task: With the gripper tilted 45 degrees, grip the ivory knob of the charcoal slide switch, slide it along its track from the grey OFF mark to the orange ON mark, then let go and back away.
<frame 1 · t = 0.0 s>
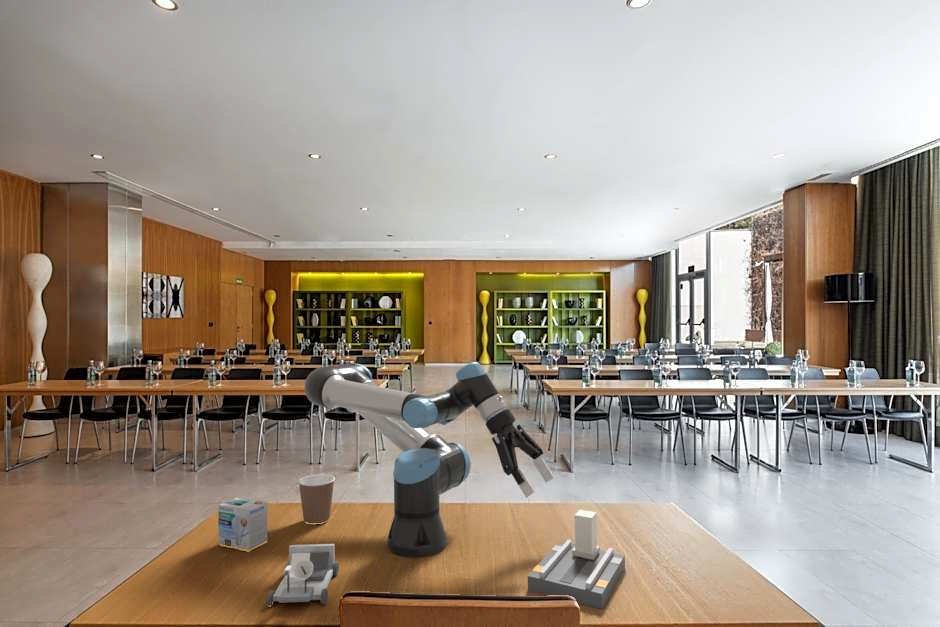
hand: (541, 487, 136), 15 cm above the table, fingers open, 13 cm apart
switch slider: (585, 533, 125), point 8 cm above the table, slide at 0.0 cm
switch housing: (578, 578, 119), on the table
light bulb box: (243, 545, 139), on the table
toy car: (303, 593, 114), on the table
coffee cup: (316, 521, 155), on the table
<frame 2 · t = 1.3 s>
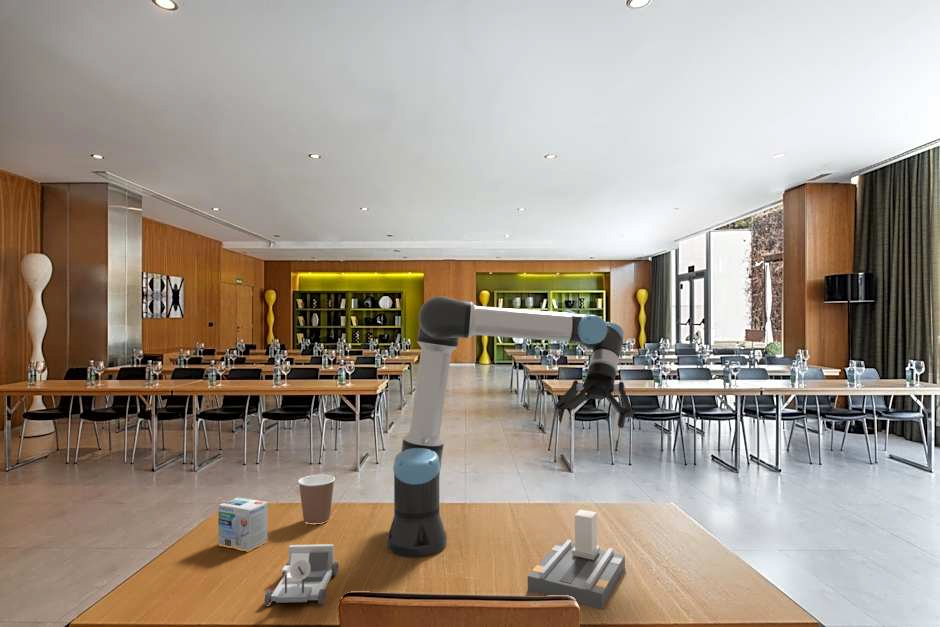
hand: (587, 435, 134), 29 cm above the table, fingers open, 13 cm apart
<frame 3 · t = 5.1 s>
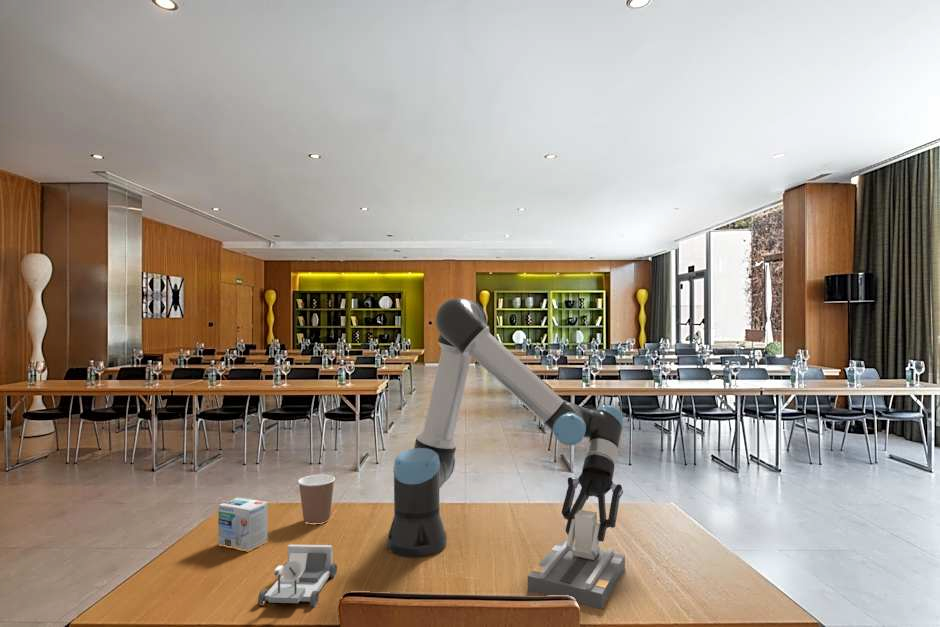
hand: (581, 550, 121), 5 cm above the table, fingers closed on switch slider, 5 cm apart
switch slider: (585, 533, 125), point 8 cm above the table, slide at 0.0 cm, touching gripper
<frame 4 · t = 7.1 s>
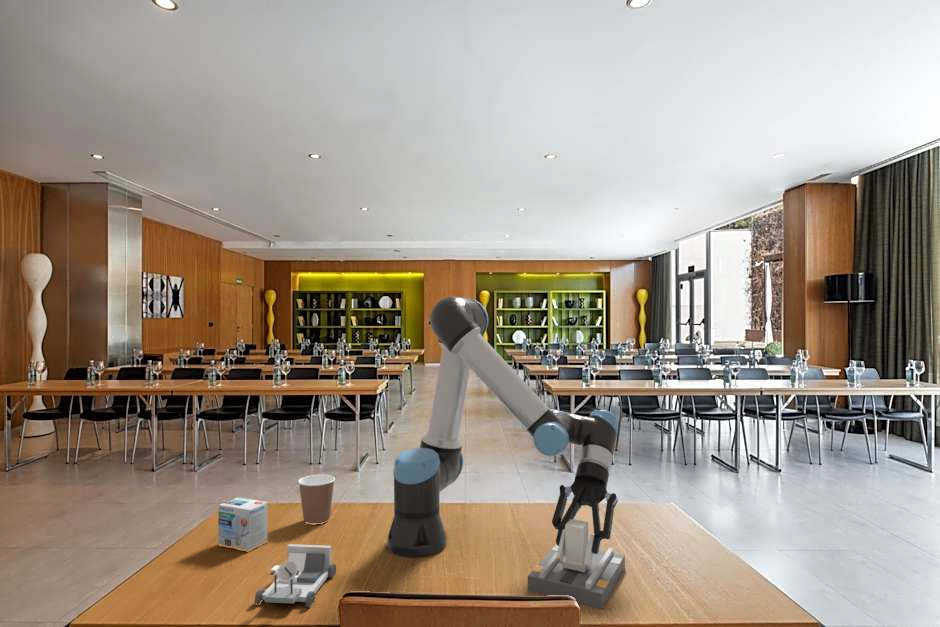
hand: (573, 563, 115), 5 cm above the table, fingers open, 5 cm apart
switch slider: (576, 544, 119), point 8 cm above the table, slide at 6.9 cm, touching gripper
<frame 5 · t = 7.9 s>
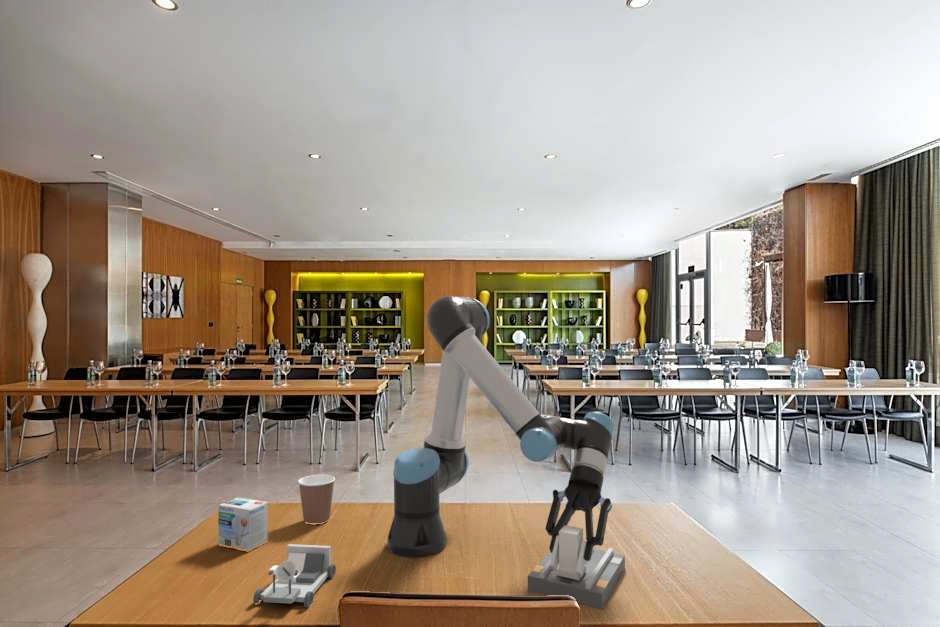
hand: (565, 571, 112), 5 cm above the table, fingers closed on switch slider, 5 cm apart
switch slider: (571, 551, 115), point 8 cm above the table, slide at 10.9 cm, touching gripper
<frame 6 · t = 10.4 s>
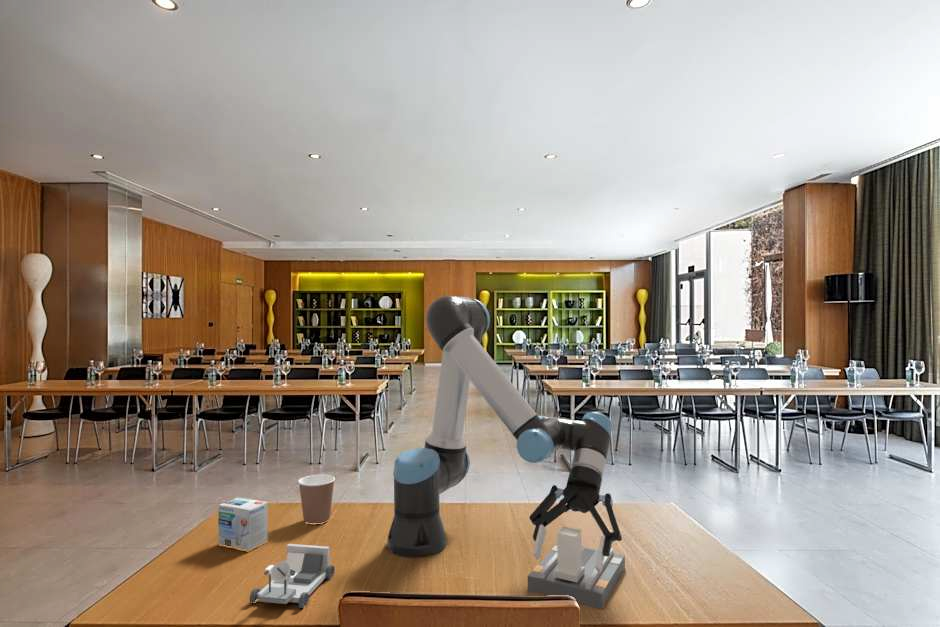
hand: (565, 563, 112), 7 cm above the table, fingers open, 13 cm apart
switch slider: (569, 553, 114), point 8 cm above the table, slide at 11.9 cm
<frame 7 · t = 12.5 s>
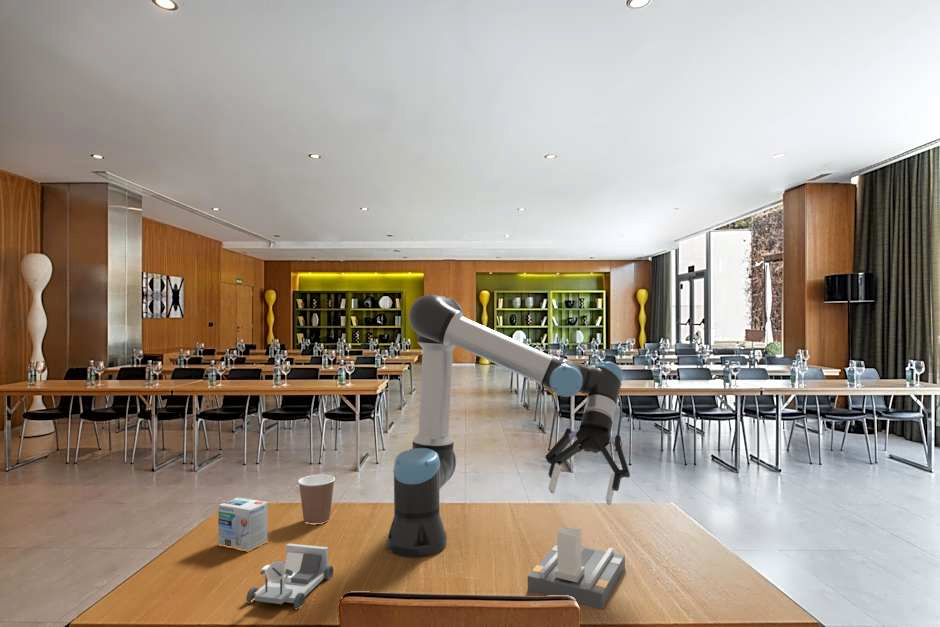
hand: (578, 496, 124), 17 cm above the table, fingers open, 13 cm apart
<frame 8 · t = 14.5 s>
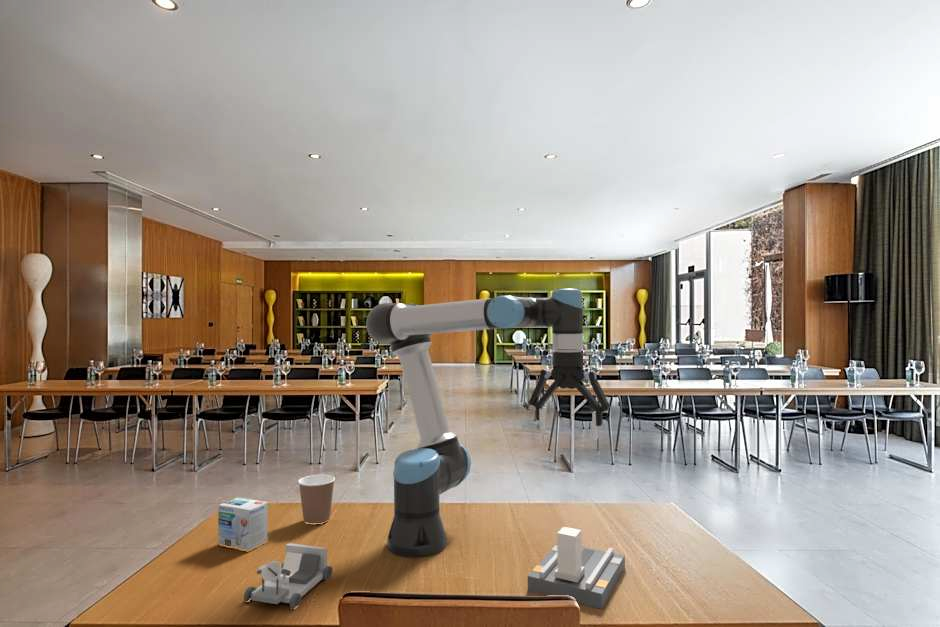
hand: (568, 436, 133), 29 cm above the table, fingers open, 13 cm apart
at the end: switch slider slide at 11.9 cm; the gripper is holding nothing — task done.
